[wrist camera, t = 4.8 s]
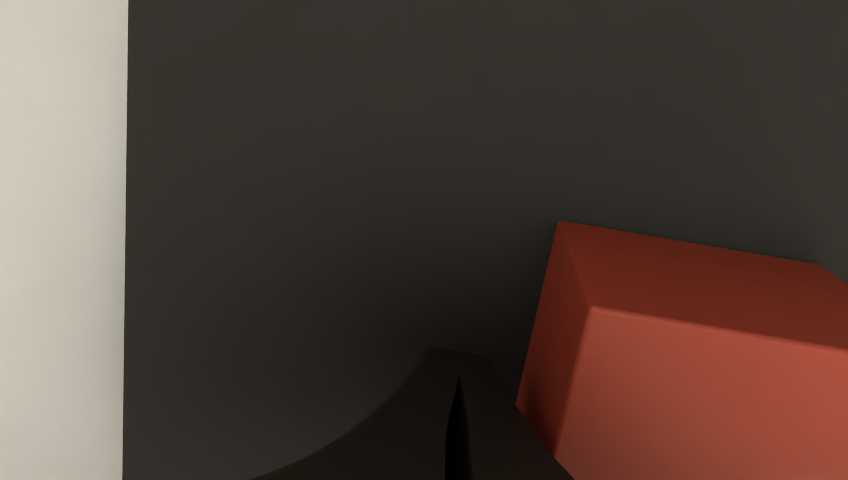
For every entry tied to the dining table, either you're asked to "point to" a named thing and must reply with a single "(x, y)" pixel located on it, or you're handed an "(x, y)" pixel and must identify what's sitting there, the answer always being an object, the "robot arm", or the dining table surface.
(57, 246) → the dining table surface
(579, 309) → the block
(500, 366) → the mat
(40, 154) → the dining table surface
